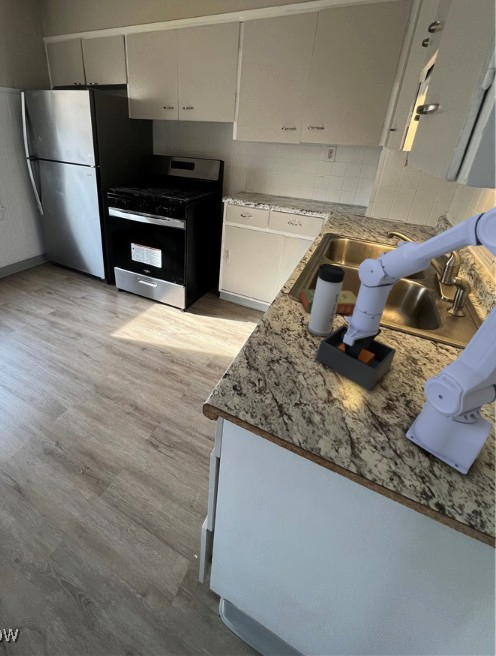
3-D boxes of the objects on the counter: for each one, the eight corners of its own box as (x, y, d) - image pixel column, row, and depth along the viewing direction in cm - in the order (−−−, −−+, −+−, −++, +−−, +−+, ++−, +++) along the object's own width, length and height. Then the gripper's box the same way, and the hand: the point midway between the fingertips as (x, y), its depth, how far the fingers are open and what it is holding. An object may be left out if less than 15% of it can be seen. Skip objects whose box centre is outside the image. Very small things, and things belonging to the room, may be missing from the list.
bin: (389, 368, 76) (396, 349, 74) (369, 390, 69) (376, 371, 67) (338, 341, 85) (343, 324, 82) (316, 359, 78) (320, 341, 76)
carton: (358, 314, 97) (361, 303, 95) (306, 312, 98) (308, 301, 96) (348, 301, 105) (351, 289, 103) (300, 299, 105) (302, 287, 103)
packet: (371, 364, 76) (374, 354, 74) (363, 372, 73) (366, 362, 72) (344, 349, 80) (346, 340, 79) (335, 357, 78) (337, 347, 76)
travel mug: (305, 322, 93) (317, 260, 84) (328, 324, 92) (342, 262, 83) (308, 335, 87) (321, 270, 78) (332, 337, 86) (349, 272, 78)
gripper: (365, 291, 77) (353, 336, 83) (335, 311, 68) (324, 360, 74) (396, 303, 72) (380, 350, 78) (368, 326, 64) (352, 377, 70)
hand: (354, 356), depth 76 cm, fingers closed on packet, 4 cm apart
